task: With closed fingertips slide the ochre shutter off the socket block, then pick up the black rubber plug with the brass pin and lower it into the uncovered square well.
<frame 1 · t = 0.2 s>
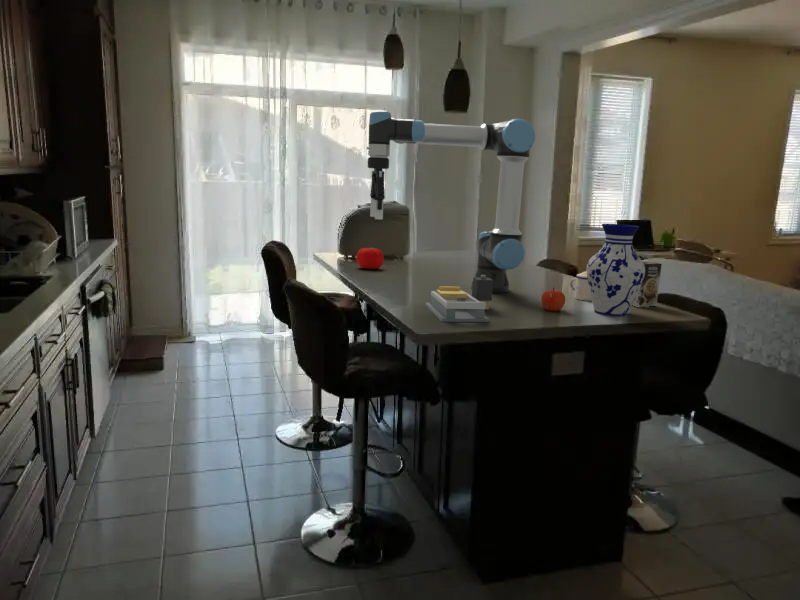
hand: (376, 218, 229), 28 cm above the worktop, fingers open, 13 cm apart
plug: (480, 307, 218), on the worktop
teacup with lid: (582, 299, 245), on the worktop
apple: (552, 310, 219), on the worktop
socket: (450, 309, 213), on the worktop
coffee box: (641, 306, 236), on the worktop
vase: (610, 313, 220), on the worktop
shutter: (451, 292, 212), point 6 cm above the worktop, slide at 0.0 cm
tomato: (369, 269, 299), on the worktop
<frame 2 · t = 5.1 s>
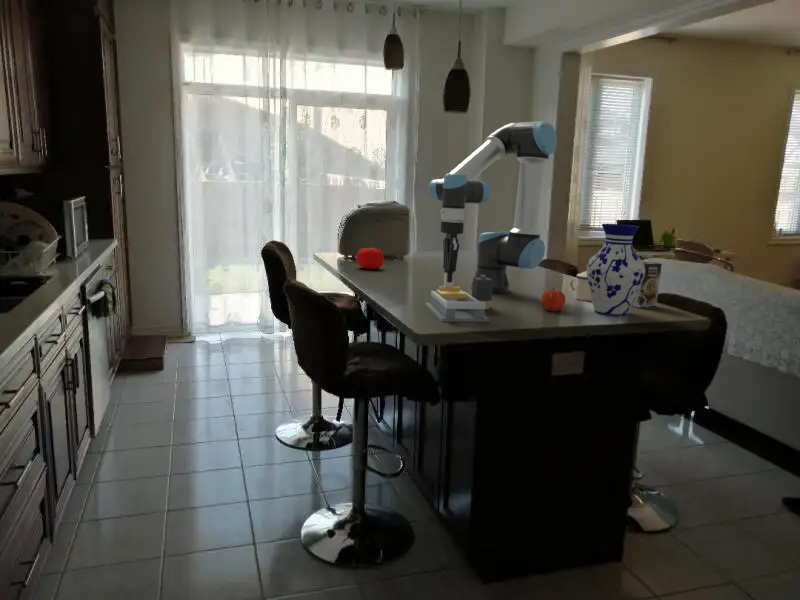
hand: (447, 291, 216), 5 cm above the worktop, fingers closed
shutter: (451, 292, 212), point 6 cm above the worktop, slide at 0.3 cm, touching gripper
everything else where it was.
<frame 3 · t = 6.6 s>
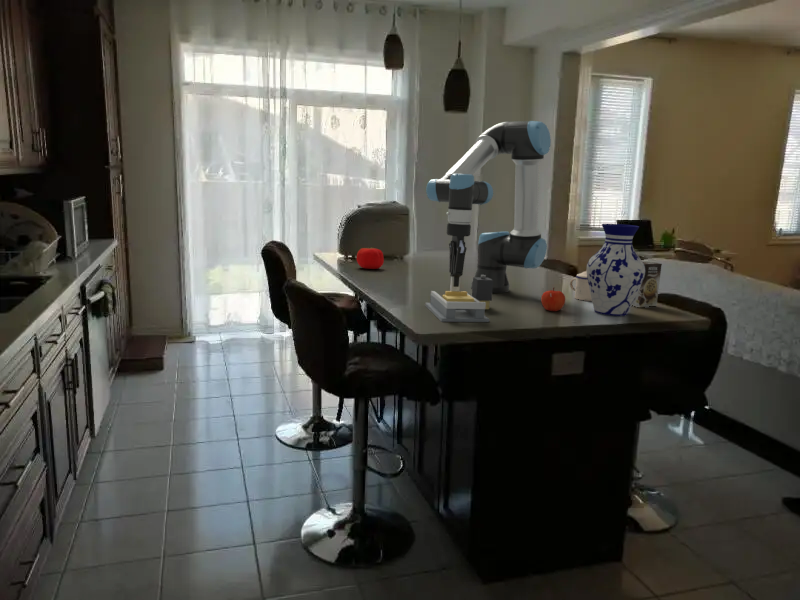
hand: (454, 296, 208), 5 cm above the worktop, fingers closed
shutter: (458, 297, 204), point 6 cm above the worktop, slide at 8.9 cm, touching gripper
everything else where it was.
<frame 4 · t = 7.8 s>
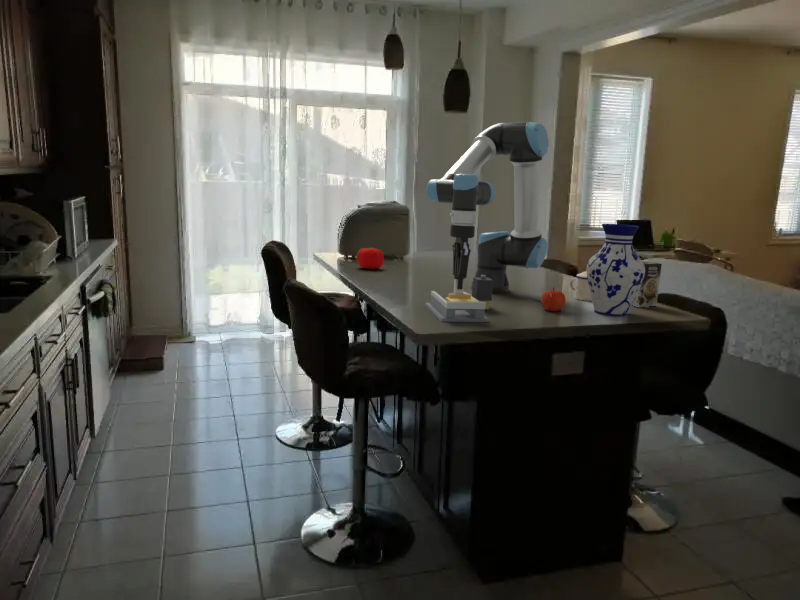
hand: (458, 298, 203), 5 cm above the worktop, fingers closed
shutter: (461, 299, 199), point 6 cm above the worktop, slide at 13.3 cm, touching gripper
everything else where it was.
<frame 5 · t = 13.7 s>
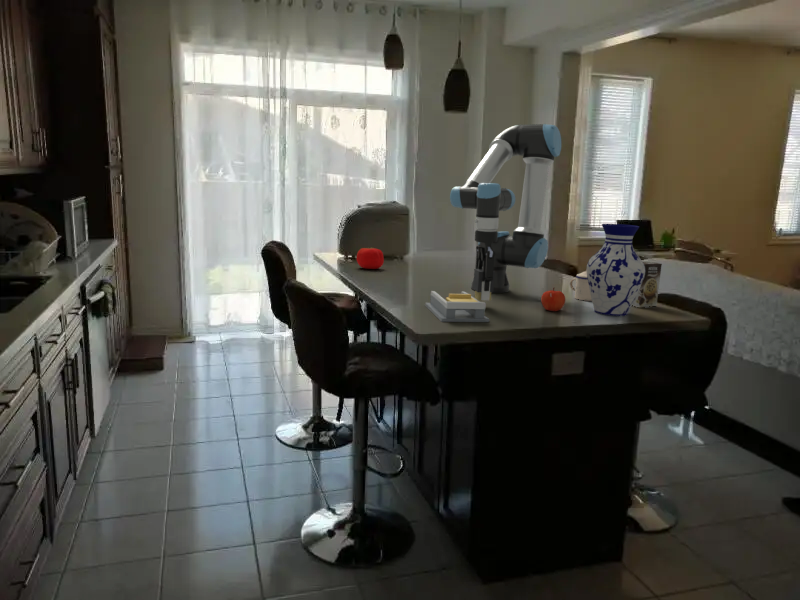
hand: (482, 298, 218), 3 cm above the worktop, fingers closed on plug, 5 cm apart
plug: (482, 299, 218), point 3 cm above the worktop, touching gripper
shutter: (461, 300, 199), point 6 cm above the worktop, slide at 13.6 cm
everything else where it was.
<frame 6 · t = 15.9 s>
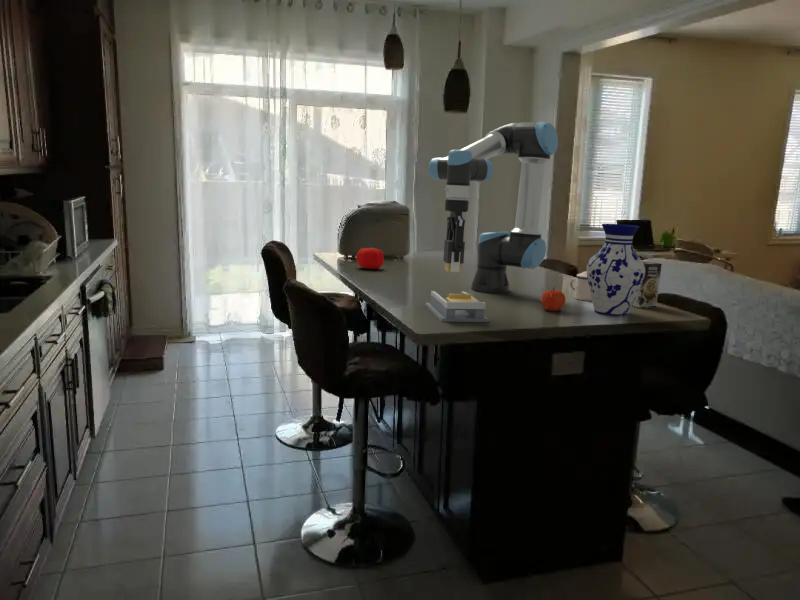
hand: (452, 270, 211), 13 cm above the worktop, fingers closed on plug, 5 cm apart
plug: (452, 271, 211), point 13 cm above the worktop, touching gripper
everything else where it was.
when the fingers open (3 cm above the worktop, at t = 18.3 s): plug drops 1 cm, resting on socket.
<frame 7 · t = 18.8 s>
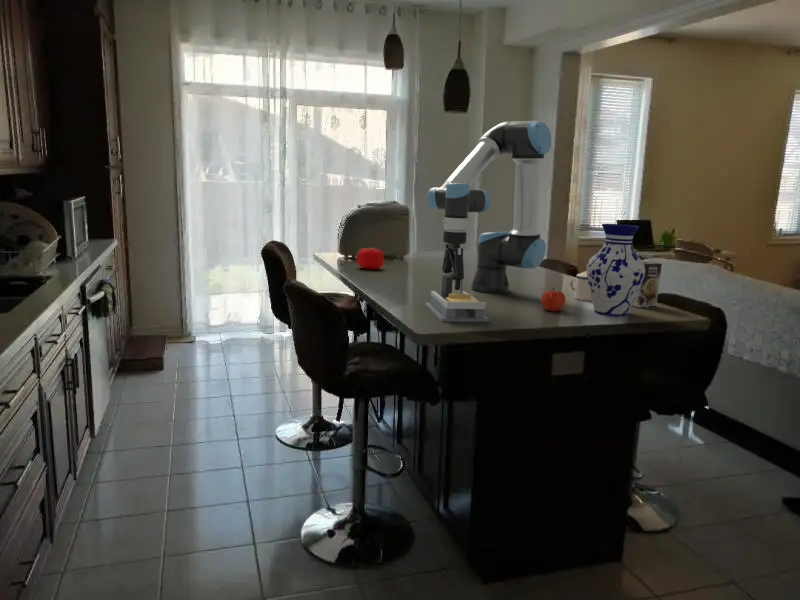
hand: (451, 295, 212), 4 cm above the worktop, fingers open, 12 cm apart
plug: (450, 305, 213), point 1 cm above the worktop, touching socket
everything else where it was.
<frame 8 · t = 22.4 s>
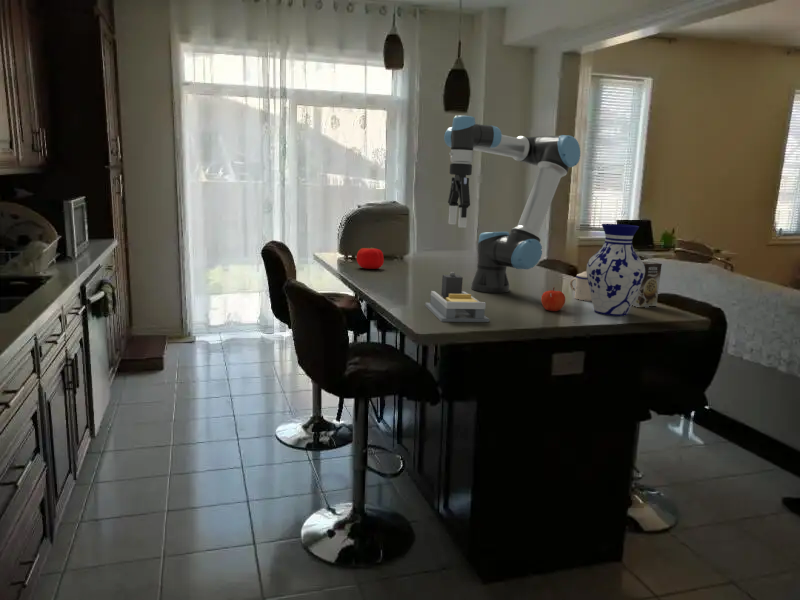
hand: (457, 225, 221), 27 cm above the worktop, fingers open, 13 cm apart
nothing on the worktop moved.
at the end: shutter slide at 13.6 cm; plug 0.1 cm off-centre on the socket, point 1.1 cm above the socket's base; plug tilted 0° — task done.
